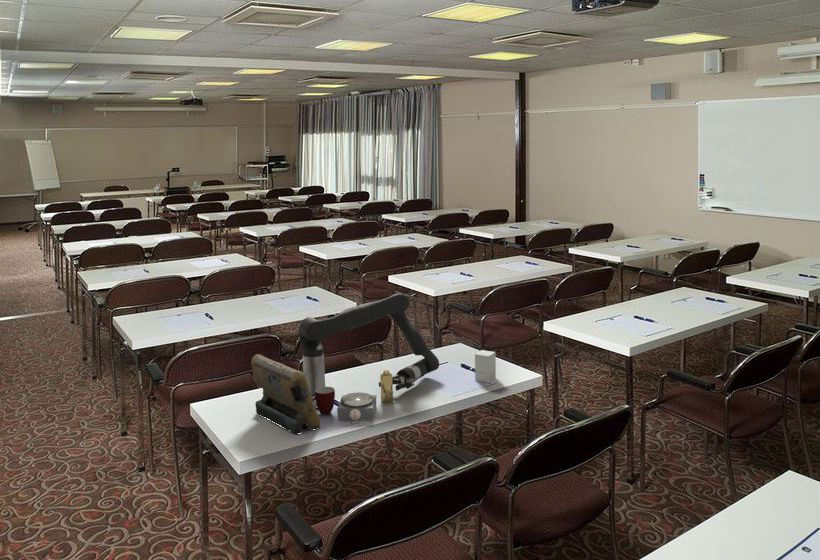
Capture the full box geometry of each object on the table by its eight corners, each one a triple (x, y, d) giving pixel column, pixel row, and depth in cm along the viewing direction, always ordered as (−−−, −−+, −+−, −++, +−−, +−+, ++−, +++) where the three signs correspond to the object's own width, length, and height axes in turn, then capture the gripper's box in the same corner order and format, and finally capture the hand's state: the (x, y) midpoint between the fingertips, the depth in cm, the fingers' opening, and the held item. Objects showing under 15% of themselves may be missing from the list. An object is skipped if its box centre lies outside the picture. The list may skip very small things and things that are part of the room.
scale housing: (337, 420, 267) (337, 408, 266) (343, 406, 281) (342, 395, 280) (372, 420, 266) (372, 408, 265) (376, 406, 280) (376, 395, 279)
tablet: (327, 425, 263) (324, 364, 258) (299, 437, 253) (295, 374, 247) (275, 405, 284) (272, 348, 279) (247, 415, 274) (243, 356, 269)
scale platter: (338, 406, 267) (338, 404, 267) (343, 394, 280) (343, 392, 279) (371, 406, 266) (371, 404, 266) (374, 394, 279) (374, 392, 279)
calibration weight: (380, 404, 283) (379, 373, 280) (381, 399, 288) (380, 369, 285) (392, 404, 283) (391, 373, 280) (393, 399, 287) (392, 369, 285)
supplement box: (496, 378, 311) (496, 351, 309) (489, 383, 305) (489, 356, 303) (481, 375, 315) (481, 349, 313) (474, 380, 309) (474, 353, 307)
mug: (316, 420, 268) (314, 396, 266) (306, 414, 274) (305, 390, 272) (339, 413, 274) (338, 390, 272) (329, 407, 280) (328, 385, 278)
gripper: (395, 364, 301) (373, 375, 288) (422, 369, 293) (401, 381, 280) (395, 380, 303) (374, 391, 289) (422, 386, 295) (402, 398, 282)
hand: (387, 386), depth 285 cm, fingers open, 8 cm apart
